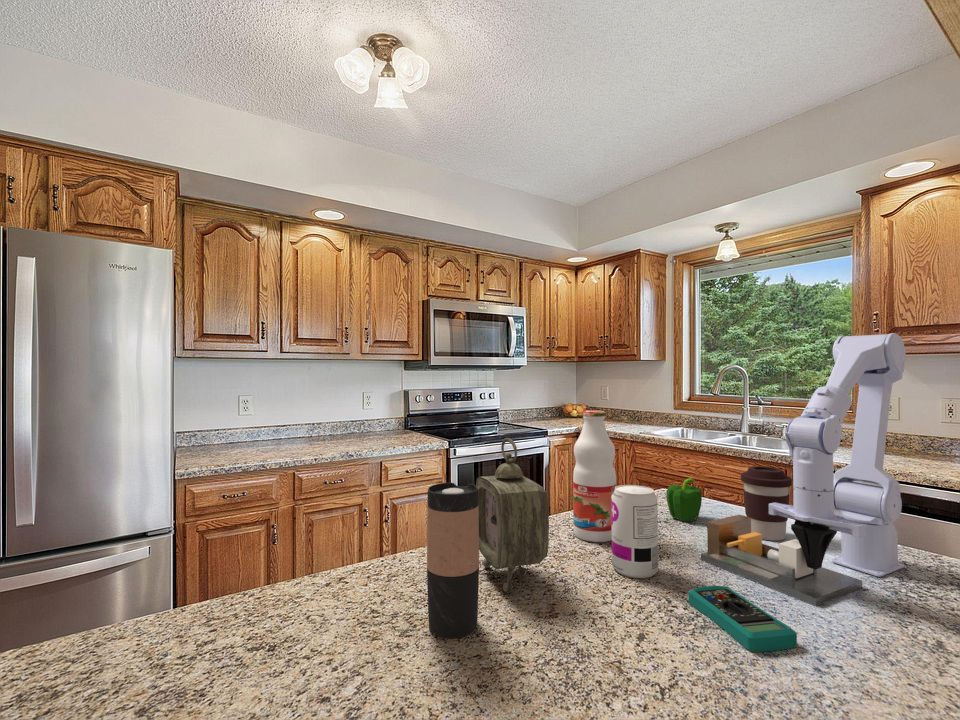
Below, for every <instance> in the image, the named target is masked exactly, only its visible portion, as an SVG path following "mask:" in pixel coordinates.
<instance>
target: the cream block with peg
mask: <svg viewBox="0 0 960 720" xmlns="http://www.w3.org/2000/svg"><path fill="white" fill-rule="evenodd" d="M778 549H779V551H775V550H772V549H770V550H769V551H768V555H767V556H768V559H770V560H773V561H776V562H778V563H781V564H784V565H787V566H790V567H793V568H795V578H799V577H802V576H805V575H808V574H811V573H813V569H812V568H809V567H807V564H806V560H805V557H804V553H803V550H802V548H801V545H800V543H799V541H798V539H797V538H794V539H790V540H787V541H783V542H781V543H778Z"/></svg>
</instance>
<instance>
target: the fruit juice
mask: <svg viewBox="0 0 960 720" xmlns="http://www.w3.org/2000/svg"><path fill="white" fill-rule="evenodd" d="M582 418H583V420H584V422H583V425H582V428H581V431H580V434H579V436H578V438H577V440H576V441H575V443H574V445H573V455H574V456H573V457H574V459H575V465H574V468H573V474H572V476H573V477H572V479H573V481H572V483H573V484H572V485H573V487H572V489H573V494H572V495H573V498H572V499H573V500H572V501H573V502H572V503H573V505H572V506H573V509H572V510H573V512H572V513H573V514H572V515H573V519H572V520H573V521H572V524H573V525H572V527H573V534H574V536H575V537H576V538H578V539H579V540H582V541H585V542H590V543H591V542H592V543H606V542H607V543H608V542H612V519H611V496H612V494H613V492H614V491H615V487H617V475H616V474H617V473H616V468H615V467H614V460H615V456H616V447H615V445H614V443H613V441H612V440H611V438H610V436H609V434H608V431H607V428H606V425H605V419H606V412H605V410H596V409H595V410H591V409H589V410H588V409H587V410H583V412H582Z"/></svg>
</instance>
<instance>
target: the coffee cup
mask: <svg viewBox="0 0 960 720" xmlns="http://www.w3.org/2000/svg"><path fill="white" fill-rule="evenodd" d="M740 481H741V482H743V501H744V511H745V516H746V517H750V518H751V533H753V532H756V533H759V534H762V540H765V541H771V542H772V541H773V542H775V541H776V542H779V541H783V540H785V539H786V536H787V521H788V520H789V518H786V517H782V516H778V515H770V514H769V504H770V503H775V502H776V503H780V504H785V505H790V493H789V491H790V490H789V488H790V487H792V485H793V477H791V476H789V475H786V474H785V471H784V470H783V469H781V468H778V467H774V466H773V467H772V466H765V465H764V466H763V465H759V466H758V465H753V466H749V467H748V469H747V471H744V472H741V474H740Z"/></svg>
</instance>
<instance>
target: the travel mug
mask: <svg viewBox="0 0 960 720" xmlns="http://www.w3.org/2000/svg"><path fill="white" fill-rule="evenodd" d="M426 507H427V515H426V516H427V518H426V520H427V521H426V523H427V524H426V526H427V527H426V533H427V534H426V578H427V579H426V582H427V584H426V585H427V588H426V589H427V615H428V616H427V618H428V629H429V630H430V632H431V633H432V634H434V635H435V636H438V637H440V638H443V639H444V638H445V639H460V638H465V637H467V636H469V635H471V634H472V633H474V632H475V631H476V629H477V627H478V617H479V613H478V612H479V586H480V584H479V583H480V579H479V578H480V550H479V508H478V487H477V486H476V484H473V483H468V484H467V485H466V486H459V485H457V484H456V483H454V482H442V483H441V482H440V483H436V484H433V485H430V486H429V487H428V488H427V506H426Z"/></svg>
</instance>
